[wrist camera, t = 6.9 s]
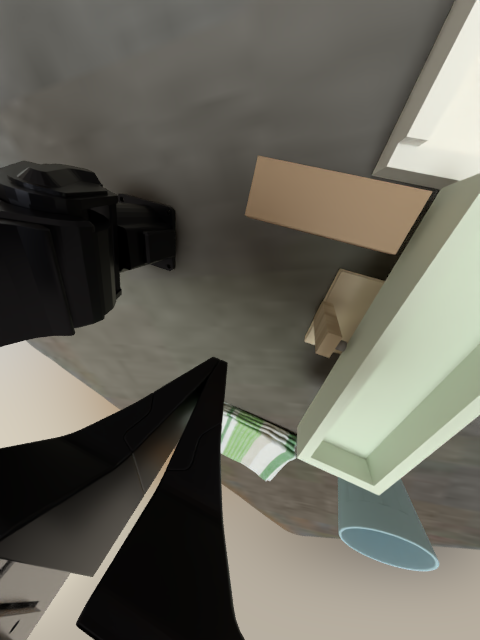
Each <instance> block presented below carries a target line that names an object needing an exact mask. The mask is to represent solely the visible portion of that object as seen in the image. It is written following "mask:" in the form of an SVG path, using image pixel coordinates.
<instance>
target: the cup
mask: <svg viewBox="0 0 480 640" xmlns="http://www.w3.org/2000/svg"><path fill="white" fill-rule="evenodd" d="M338 525H339V536H340V538H341V539H342V540H343V541H344V542H345V543H346V544H347V545H348V546H350V547H351V548H353V549H354V550H356V551H358V552H359V553H361V554H363V555H365V556H367V557H369V558H372V559H374V560H377V561H379V562H382V563H385V564H388V565H392V566H395V567H398V568H403V569H408V570H414V571H432V570H435V569H437V568H438V567H439V561H438V559H437V557H436V554H435V552H434V550H433V548H432V546H431V543H430V541H429V539H428V537H427V535H426V533H425V530H424V528H423V526H422V524H421V522H420V520H419V518H418V515H417V513H416V511H415V509H414V507H413V504H412V502H411V500H410V498H409V496H408V494H407V491H406V489H405V487H404V485H403V483H402V480H401V478H400V479H399V480H398V481H397V482H395V483H394V484H393V485H392V486H390V487H389V488H388V489H387V490H385V491H384V492H383V493H382V494H380V495H377V494H374V493H372V492H370V491H368V490H366V489H363V488H361V487H359V486H357V485H355V484H353V483H350V482H348V481H346V480H344V479H342V478H339V477H338Z"/></svg>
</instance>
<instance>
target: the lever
mask: <svg viewBox="0 0 480 640" xmlns="http://www.w3.org/2000/svg"><path fill="white" fill-rule="evenodd" d="M432 192H433V191H428V190H423V189H418V188H413V187H409V186H404V185H399V184H394V183H389V182H384V181H379V180H374V179H370V178H365V177H360V176H355V175H350V174H345V173H340V172H335V171H331V170H326V169H321V168H316V167H311V166H306V165H301V164H296V163H292V162H287V161H282V160H277V159H272V158H267V157H262V156H258V158H257V163H256V167H255V172H254V176H253V181H252V185H251V189H250V194H249V198H248V203H247V207H246V212H245V216H247V217H249V218H253V219H257V220H260V221H264V222H268V223H272V224H276V225H280V226H283V227H287V228H291V229H295V230H299V231H302V232H306V233H310V234H314V235H318V236H322V237H325V238H329V239H333V240H337V241H341V242H344V243H348V244H352V245H356V246H360V247H364V248H367V249H371V250H375V251H379V252H383V253H386V254H396V253H397V251H398V249H399V248H400V246H401V244H402V243H403V241H404V239H405V238H406V236H407V234H408V232H409V231H410V229H411V227H412V226H413V224H414V222H415V221H416V219H417V217H418V216H419V214H420V212H421V210H422V209H423V207H424V205H425V204H426V202H427V200H428V199H429V197H430V195H431V194H432ZM479 415H480V173H479V174H476V175H474V176H471V177H469V178H466V179H464V180H461V181H458V182H456V183H453V184H451V185H448V186H446V187H443V188H441V190H440V191H439V193H438V195H437V196H436V198H435V200H434V201H433V203H432V205H431V206H430V208H429V210H428V211H427V213H426V215H425V216H424V218H423V219H422V221H421V223H420V224H419V226H418V228H417V229H416V231H415V233H414V234H413V236H412V238H411V239H410V241H409V243H408V244H407V246H406V248H405V249H404V251H403V253H402V254H401V256H400V257H399V259H398V261H397V262H396V264H395V266H394V267H393V269H392V271H391V272H390V274H389V276H388V277H387V279H386V281H385V282H384V284H383V286H382V287H381V289H380V291H379V292H378V294H377V295H376V297H375V299H374V300H373V302H372V304H371V305H370V307H369V309H368V310H367V312H366V314H365V315H364V317H363V319H362V320H361V322H360V324H359V325H358V327H357V329H356V330H355V332H354V333H353V335H352V337H351V338H350V340H349V342H348V343H347V347H346V349H345V351H344V352H342V353H341V355H340V357H339V358H338V360H337V362H336V363H335V365H334V367H333V368H332V370H331V371H330V373H329V375H328V376H327V378H326V380H325V381H324V383H323V385H322V386H321V388H320V390H319V391H318V393H317V395H316V396H315V398H314V400H313V401H312V403H311V405H310V406H309V408H308V410H307V411H306V413H305V414H304V416H303V418H302V419H301V421H300V423H299V424H298V426H297V458H298V459H300V460H302V461H304V462H307V463H309V464H311V465H313V466H315V467H318V468H320V469H322V470H324V471H326V472H329V473H331V474H333V475H335V476H337V477H339V478H342V479H344V480H346V481H348V482H350V483H353V484H355V485H357V486H359V487H361V488H363V489H366V490H368V491H370V492H372V493H374V494H377V495H380V494H382V493H383V492H384V491H385V490H387V489H388V488H389V487H390V486H392V485H393V484H394V483H395V482H397V481H398V480H399V479H400V478H402V477H403V476H404V475H405V474H407V473H408V472H409V471H410V470H412V469H413V468H414V467H415V466H417V465H418V464H419V463H420V462H422V461H423V460H424V459H425V458H426V457H428V456H429V455H430V454H431V453H433V452H434V451H435V450H436V449H438V448H439V447H440V446H441V445H443V444H444V443H445V442H446V441H448V440H449V439H450V438H451V437H453V436H454V435H455V434H456V433H458V432H459V431H460V430H461V429H463V428H464V427H465V426H466V425H468V424H469V423H470V422H471V421H473V420H474V419H475V418H476V417H478V416H479Z"/></svg>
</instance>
